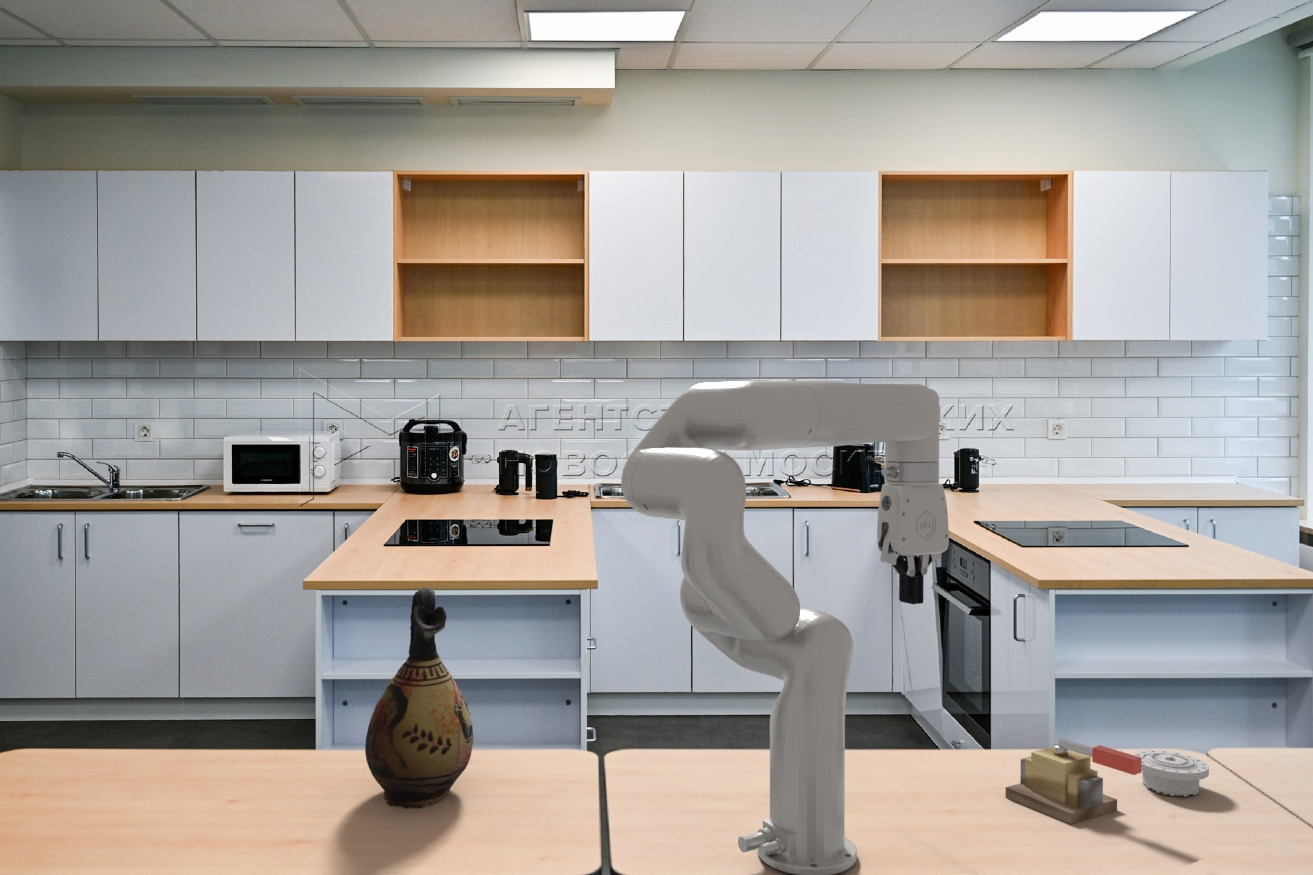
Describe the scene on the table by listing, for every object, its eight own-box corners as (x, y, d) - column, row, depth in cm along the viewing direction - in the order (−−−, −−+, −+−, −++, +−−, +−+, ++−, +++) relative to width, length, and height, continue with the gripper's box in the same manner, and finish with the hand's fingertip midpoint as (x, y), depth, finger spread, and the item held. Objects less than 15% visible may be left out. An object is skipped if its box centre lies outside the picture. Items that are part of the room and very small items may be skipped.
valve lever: (1050, 752, 140) (1050, 735, 140) (1058, 749, 141) (1058, 732, 141) (1133, 778, 129) (1133, 760, 129) (1141, 775, 130) (1142, 757, 130)
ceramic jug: (483, 806, 138) (482, 597, 138) (370, 823, 132) (370, 604, 132) (461, 767, 154) (461, 579, 153) (360, 780, 148) (359, 585, 148)
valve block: (1070, 824, 132) (1071, 772, 132) (1005, 797, 142) (1005, 749, 142) (1117, 809, 137) (1117, 759, 137) (1050, 784, 147) (1051, 738, 147)
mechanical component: (1201, 775, 138) (1125, 760, 145) (1200, 806, 138) (1125, 789, 145) (1214, 757, 146) (1142, 743, 152) (1214, 786, 146) (1142, 771, 152)
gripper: (891, 477, 132) (890, 611, 132) (969, 474, 139) (968, 602, 139) (853, 474, 138) (853, 603, 138) (930, 472, 145) (929, 594, 146)
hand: (911, 602), depth 139 cm, fingers closed
